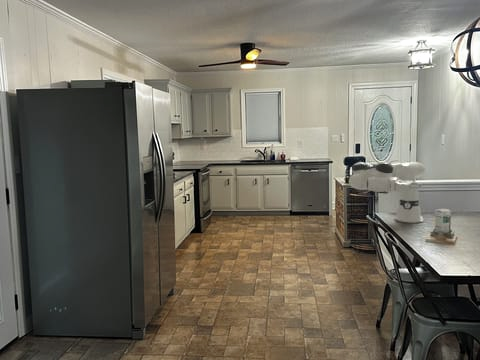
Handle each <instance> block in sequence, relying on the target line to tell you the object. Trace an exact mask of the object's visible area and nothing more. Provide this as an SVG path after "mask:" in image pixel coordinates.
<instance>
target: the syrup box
mask: <svg viewBox="0 0 480 360" xmlns="http://www.w3.org/2000/svg"><path fill="white" fill-rule="evenodd" d="M434 212H435V213H434V228H435V232H438V231H444V233H450V229H451V222H452V221H451V220H452V219H451V218H452V216H451V215H452V210H451V209H448V208H447V209H446V208H439V209H435V211H434Z"/></svg>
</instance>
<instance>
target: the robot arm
mask: <svg viewBox="0 0 480 360" xmlns="http://www.w3.org/2000/svg"><path fill="white" fill-rule="evenodd" d="M351 171H352V175H350V176H349V179H348V185H349V186H350V187H351V188H353V189H356V190H357V192H358V193H359V194H366V193H369V192H371V191H372V192H376V193H378V194H385V195H386V194H389V193H394V194H395V193H397V194H398V192H400V193H399V194H400V195H399V196H400V197H399V203H398V204H399V205H398V206H397V207H396V216H395V217H394V218H393V220H394V221H395V220H396V221H398V222H403V223H410V224H411V223H424V222H425V221H424V218H423V216H422V215H423V214H421V211H422V209H421V208H420V206H419V204H420V201H419V188H420V187H422V184H423V183H421V182H420V183H419V182H417V181H416V179H418V178H420V177H422V176H423V175H424V174H425V173H426V172H425V171H426V169H425V165H424V164H423V163H421V162H417V161H410V162H401V163H393V164H391V163H389V162H380V163H377V164H375V165H372V166H371V165H369V164H368V163H366V162H364V161H363V162H362V161H358V162H356V163H354V164H352V168H351Z"/></svg>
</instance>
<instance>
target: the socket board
mask: <svg viewBox="0 0 480 360" xmlns="http://www.w3.org/2000/svg"><path fill="white" fill-rule="evenodd" d="M457 239H458V234H456V233H455V229H451V228H450V233H444V231H438V232H435V227H432V229H431V230H430V231H429V233H428V234H427V236H426V237H425V242H429V243H437V244H444V245H445V244H446V245H455V243H456V241H457Z"/></svg>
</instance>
